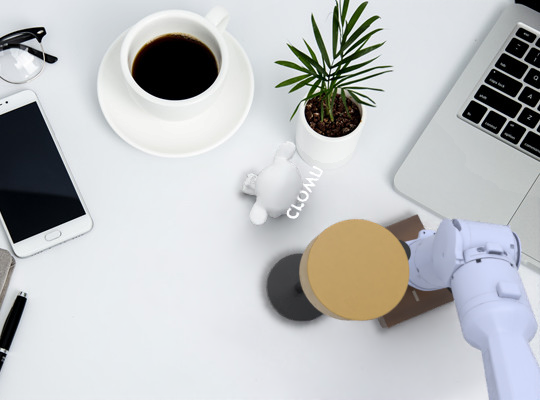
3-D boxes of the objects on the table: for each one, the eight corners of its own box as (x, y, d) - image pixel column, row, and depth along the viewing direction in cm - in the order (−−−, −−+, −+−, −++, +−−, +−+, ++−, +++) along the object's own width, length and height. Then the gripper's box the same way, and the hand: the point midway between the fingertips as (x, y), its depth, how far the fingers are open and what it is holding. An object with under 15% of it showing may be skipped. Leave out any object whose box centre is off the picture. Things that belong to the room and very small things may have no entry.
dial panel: (450, 299, 82) (459, 298, 79) (382, 327, 82) (388, 328, 79) (410, 217, 84) (418, 213, 81) (344, 244, 84) (348, 242, 81)
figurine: (233, 225, 87) (298, 249, 83) (214, 208, 80) (285, 233, 75) (265, 150, 89) (331, 170, 85) (250, 126, 82) (321, 146, 77)
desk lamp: (343, 305, 83) (510, 292, 36) (271, 335, 82) (343, 361, 35) (316, 244, 84) (440, 153, 37) (245, 273, 84) (280, 218, 37)
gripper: (510, 232, 67) (462, 246, 80) (376, 216, 68) (350, 232, 81) (508, 297, 66) (459, 300, 79) (371, 279, 67) (345, 286, 80)
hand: (403, 269), depth 80 cm, fingers open, 7 cm apart
